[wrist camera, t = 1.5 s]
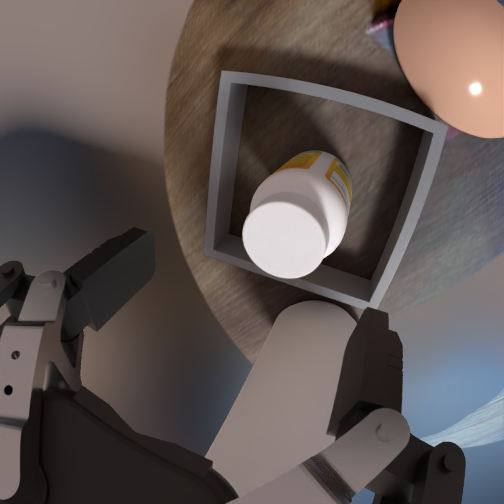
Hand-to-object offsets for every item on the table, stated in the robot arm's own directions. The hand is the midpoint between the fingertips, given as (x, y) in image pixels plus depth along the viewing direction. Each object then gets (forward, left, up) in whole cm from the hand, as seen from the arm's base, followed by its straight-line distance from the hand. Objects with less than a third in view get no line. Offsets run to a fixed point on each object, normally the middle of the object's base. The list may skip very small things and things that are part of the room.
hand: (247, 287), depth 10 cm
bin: (0, 0, -14) cm, 14 cm away
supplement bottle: (0, 0, -14) cm, 14 cm away
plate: (-9, -13, -14) cm, 21 cm away
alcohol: (-4, +14, -14) cm, 20 cm away
